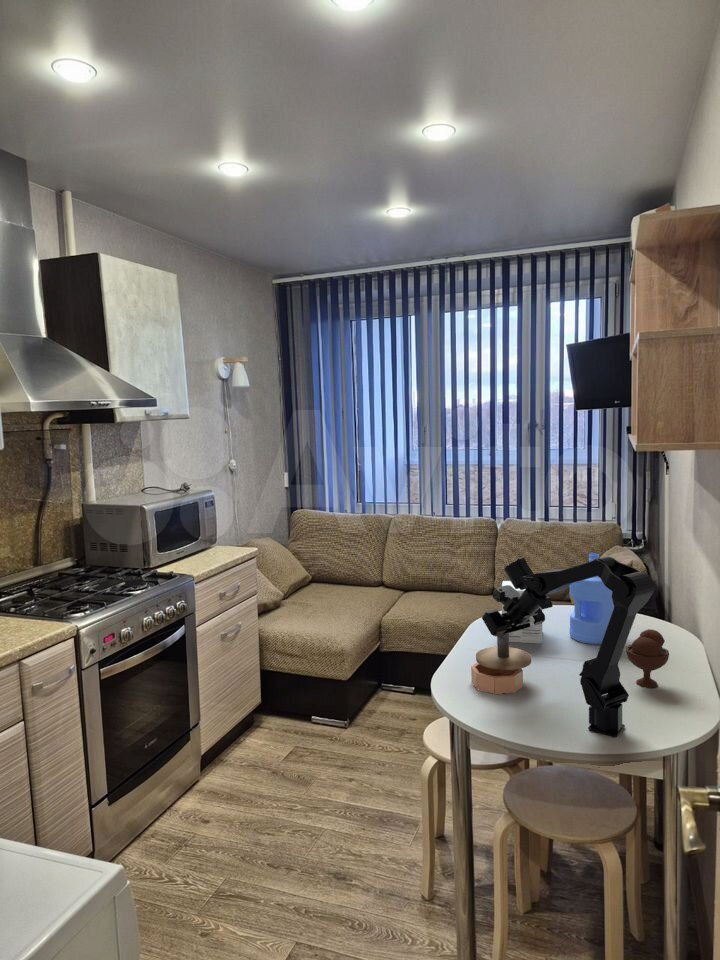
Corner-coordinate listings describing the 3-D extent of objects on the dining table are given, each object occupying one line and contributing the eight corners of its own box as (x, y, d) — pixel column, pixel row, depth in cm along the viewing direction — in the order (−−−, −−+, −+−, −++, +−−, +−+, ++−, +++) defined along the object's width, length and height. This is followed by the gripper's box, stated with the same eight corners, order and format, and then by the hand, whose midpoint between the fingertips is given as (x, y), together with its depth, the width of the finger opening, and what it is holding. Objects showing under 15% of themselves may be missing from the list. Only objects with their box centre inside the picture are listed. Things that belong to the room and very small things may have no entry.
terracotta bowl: (529, 681, 180) (529, 666, 180) (507, 697, 170) (507, 681, 170) (487, 671, 188) (487, 656, 188) (464, 686, 178) (464, 670, 178)
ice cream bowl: (631, 673, 184) (631, 621, 182) (674, 682, 177) (674, 628, 175) (619, 685, 176) (619, 631, 174) (663, 695, 168) (663, 639, 167)
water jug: (598, 627, 225) (597, 548, 223) (630, 641, 210) (630, 556, 208) (559, 633, 220) (559, 552, 218) (590, 648, 205) (589, 561, 203)
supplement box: (503, 629, 227) (502, 580, 225) (542, 631, 223) (541, 581, 222) (501, 641, 214) (500, 589, 212) (542, 644, 210) (542, 591, 209)
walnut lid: (528, 651, 186) (527, 608, 185) (534, 670, 172) (533, 624, 171) (475, 650, 189) (474, 607, 188) (476, 669, 174) (475, 623, 173)
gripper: (536, 573, 180) (509, 603, 190) (485, 583, 170) (459, 615, 180) (559, 607, 174) (529, 636, 184) (507, 619, 164) (479, 650, 174)
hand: (499, 633), depth 181 cm, fingers closed on walnut lid, 3 cm apart
